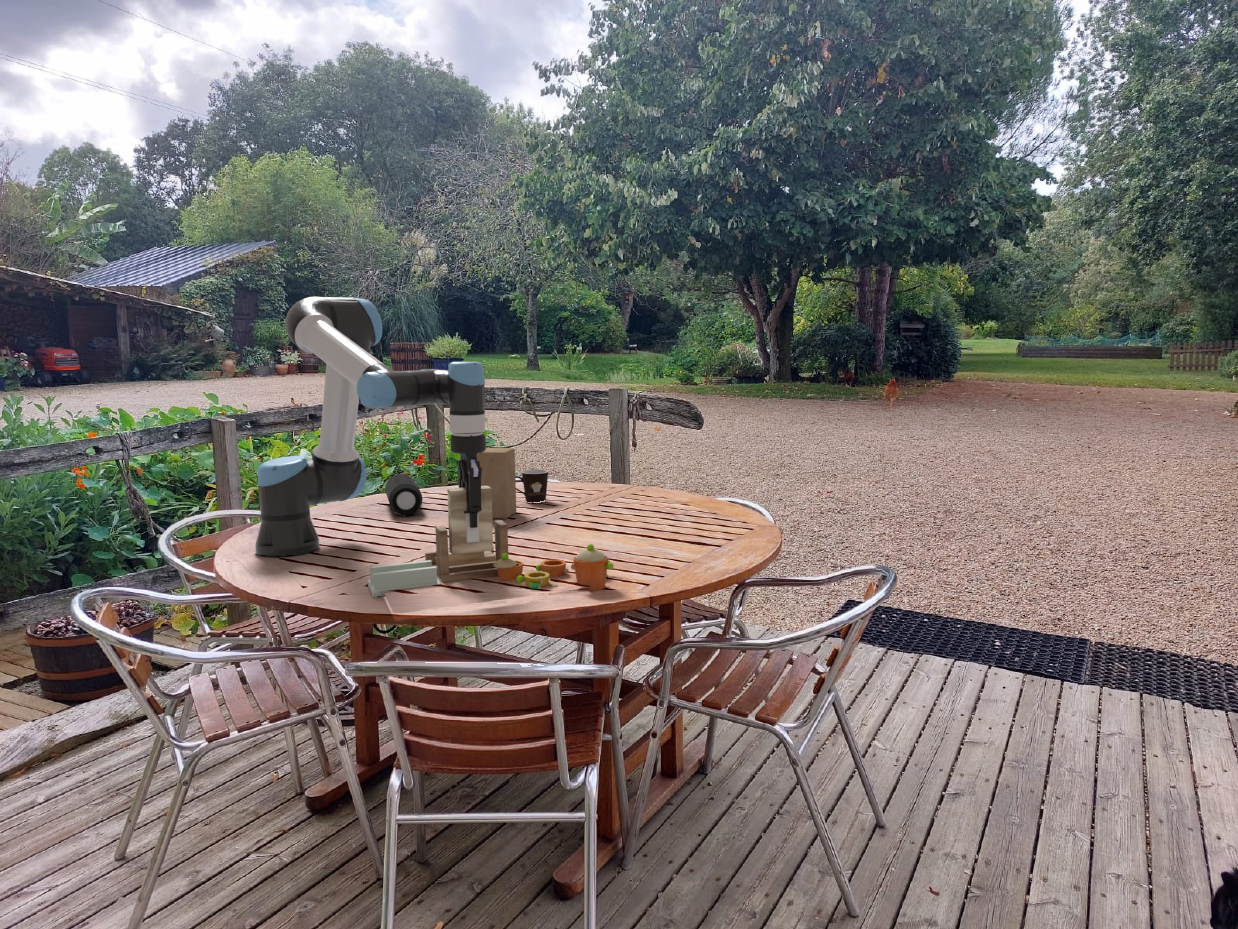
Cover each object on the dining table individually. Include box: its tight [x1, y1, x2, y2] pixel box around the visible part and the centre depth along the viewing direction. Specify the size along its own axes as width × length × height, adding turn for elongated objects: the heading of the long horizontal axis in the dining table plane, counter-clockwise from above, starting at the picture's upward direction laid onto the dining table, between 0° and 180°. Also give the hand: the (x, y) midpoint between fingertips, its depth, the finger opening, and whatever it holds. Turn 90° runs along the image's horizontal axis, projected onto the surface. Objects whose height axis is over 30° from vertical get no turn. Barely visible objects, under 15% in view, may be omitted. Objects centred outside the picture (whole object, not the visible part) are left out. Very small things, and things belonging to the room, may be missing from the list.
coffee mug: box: [515, 469, 549, 502], centre depth 272 cm, size 12×9×10 cm
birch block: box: [446, 486, 494, 555], centre depth 183 cm, size 3×9×14 cm, turn 113°
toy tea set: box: [493, 543, 614, 595], centre depth 180 cm, size 26×16×10 cm, turn 102°
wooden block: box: [477, 447, 517, 520], centre depth 250 cm, size 10×10×20 cm
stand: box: [366, 560, 442, 598], centre depth 179 cm, size 10×14×4 cm
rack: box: [424, 519, 510, 583], centre depth 189 cm, size 17×16×12 cm
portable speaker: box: [384, 473, 423, 517], centre depth 262 cm, size 26×10×10 cm, turn 19°
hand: (470, 539), depth 184 cm, fingers closed on birch block, 3 cm apart
